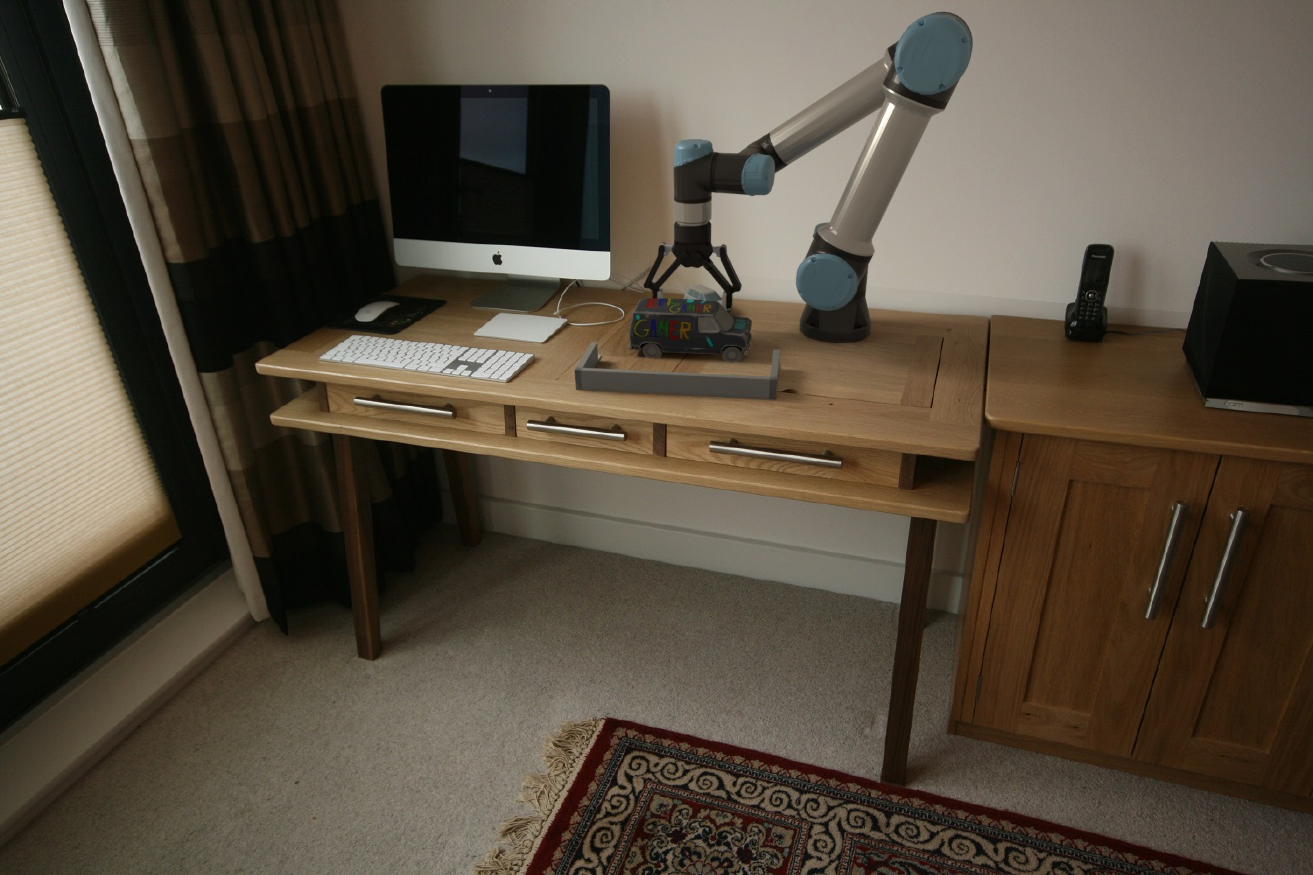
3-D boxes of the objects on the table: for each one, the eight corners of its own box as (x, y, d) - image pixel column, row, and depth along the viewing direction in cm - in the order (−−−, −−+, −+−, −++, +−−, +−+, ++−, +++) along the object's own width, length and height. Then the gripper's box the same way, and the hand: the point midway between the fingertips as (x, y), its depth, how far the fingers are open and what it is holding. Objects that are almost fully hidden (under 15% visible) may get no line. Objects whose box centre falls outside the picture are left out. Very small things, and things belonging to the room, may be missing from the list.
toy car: (713, 322, 195) (714, 300, 192) (681, 306, 204) (681, 286, 202) (734, 316, 197) (734, 295, 195) (701, 301, 207) (701, 281, 205)
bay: (778, 364, 172) (779, 345, 170) (775, 399, 158) (776, 379, 156) (595, 355, 178) (594, 337, 176) (575, 389, 163) (574, 370, 161)
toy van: (748, 363, 173) (750, 316, 168) (627, 357, 177) (625, 311, 172) (752, 344, 182) (754, 298, 178) (637, 338, 186) (635, 294, 181)
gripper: (756, 218, 175) (752, 317, 185) (635, 215, 179) (637, 312, 189) (753, 227, 168) (749, 330, 178) (627, 224, 172) (631, 324, 182)
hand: (692, 321), depth 184 cm, fingers open, 13 cm apart
